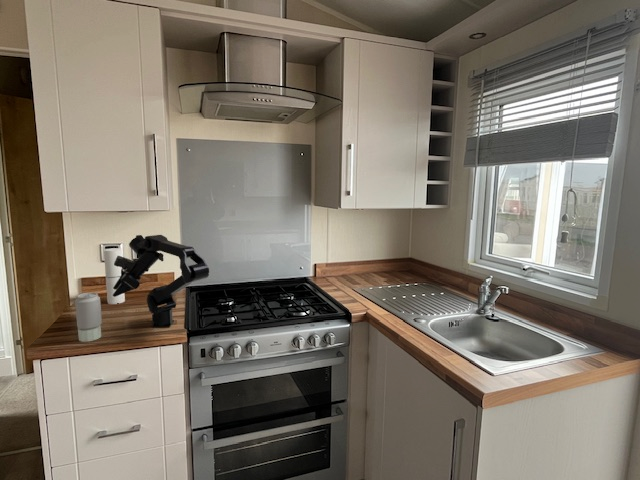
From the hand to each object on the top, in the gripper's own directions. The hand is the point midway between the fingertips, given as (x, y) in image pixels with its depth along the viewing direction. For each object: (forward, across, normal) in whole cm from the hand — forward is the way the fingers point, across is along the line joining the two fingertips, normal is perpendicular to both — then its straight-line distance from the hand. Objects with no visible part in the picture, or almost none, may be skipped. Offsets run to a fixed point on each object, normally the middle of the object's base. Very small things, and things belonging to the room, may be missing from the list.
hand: (113, 292), depth 139 cm
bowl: (+15, +8, +4) cm, 18 cm away
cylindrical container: (+11, -34, +11) cm, 37 cm away
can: (+12, +8, +1) cm, 15 cm away
